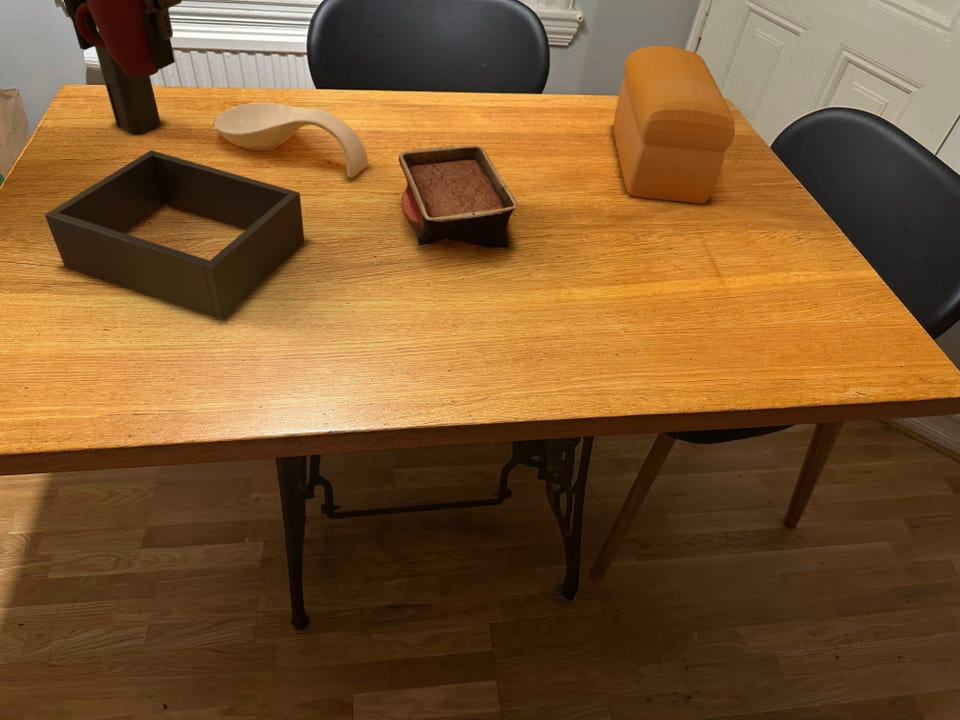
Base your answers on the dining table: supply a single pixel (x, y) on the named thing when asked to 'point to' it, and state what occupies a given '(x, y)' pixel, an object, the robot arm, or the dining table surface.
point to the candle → (128, 96)
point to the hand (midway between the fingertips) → (127, 55)
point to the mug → (120, 33)
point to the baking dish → (456, 196)
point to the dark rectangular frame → (165, 271)
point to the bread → (671, 126)
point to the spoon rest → (286, 129)
